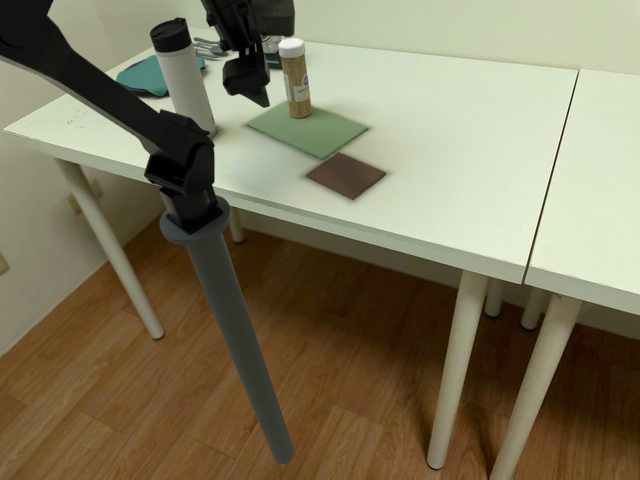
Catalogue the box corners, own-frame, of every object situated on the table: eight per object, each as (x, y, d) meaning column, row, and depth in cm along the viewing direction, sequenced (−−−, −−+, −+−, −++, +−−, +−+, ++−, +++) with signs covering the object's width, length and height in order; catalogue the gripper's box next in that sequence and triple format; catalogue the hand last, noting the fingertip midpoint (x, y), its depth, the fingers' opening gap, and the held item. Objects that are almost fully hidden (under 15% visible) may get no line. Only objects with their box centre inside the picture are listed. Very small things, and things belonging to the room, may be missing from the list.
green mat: (322, 160, 78) (322, 158, 78) (246, 125, 89) (246, 123, 89) (368, 128, 84) (368, 126, 84) (291, 100, 95) (291, 98, 95)
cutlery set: (102, 89, 108) (98, 79, 106) (193, 41, 125) (190, 32, 123) (160, 105, 99) (156, 95, 97) (250, 51, 116) (248, 41, 114)
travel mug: (225, 128, 89) (195, 18, 75) (201, 146, 85) (166, 33, 71) (201, 122, 92) (168, 15, 78) (177, 139, 88) (139, 29, 74)
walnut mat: (353, 199, 70) (352, 197, 69) (305, 176, 75) (305, 174, 75) (386, 174, 73) (386, 172, 73) (338, 153, 79) (338, 151, 79)
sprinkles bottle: (309, 119, 88) (300, 47, 78) (286, 118, 89) (274, 47, 79) (315, 107, 91) (306, 36, 82) (292, 107, 92) (281, 37, 83)
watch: (256, 71, 107) (246, 21, 99) (271, 57, 112) (263, 8, 104) (278, 73, 105) (270, 22, 97) (292, 58, 110) (285, 8, 103)
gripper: (285, 18, 55) (320, 113, 68) (275, -60, 65) (307, 36, 78) (199, 46, 57) (249, 134, 70) (202, -33, 67) (245, 56, 80)
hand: (265, 87), depth 75 cm, fingers open, 9 cm apart
